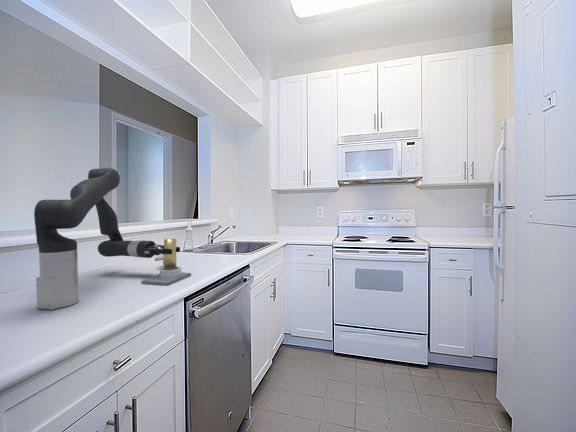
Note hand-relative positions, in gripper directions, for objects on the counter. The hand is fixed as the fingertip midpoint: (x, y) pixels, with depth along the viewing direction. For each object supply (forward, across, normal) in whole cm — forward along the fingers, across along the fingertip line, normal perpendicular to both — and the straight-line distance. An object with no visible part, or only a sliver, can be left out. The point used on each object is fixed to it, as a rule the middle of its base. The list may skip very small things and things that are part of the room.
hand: (175, 250), depth 115 cm
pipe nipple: (-3, 0, +7) cm, 8 cm away
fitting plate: (-2, -2, +12) cm, 13 cm away
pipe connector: (-18, +17, +13) cm, 28 cm away
